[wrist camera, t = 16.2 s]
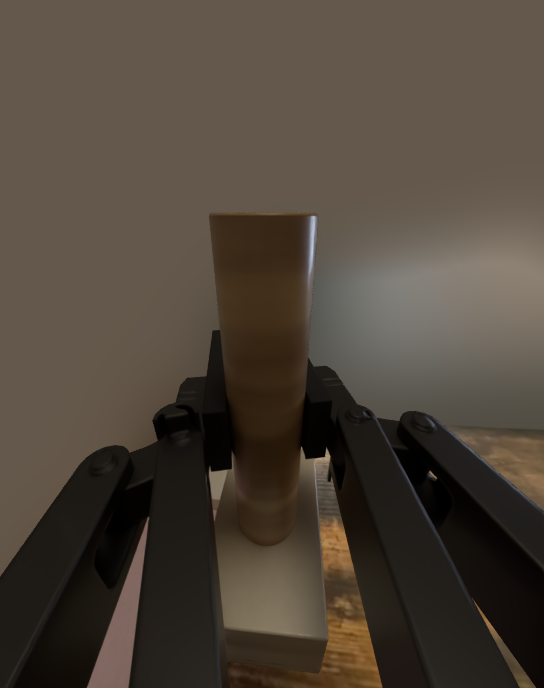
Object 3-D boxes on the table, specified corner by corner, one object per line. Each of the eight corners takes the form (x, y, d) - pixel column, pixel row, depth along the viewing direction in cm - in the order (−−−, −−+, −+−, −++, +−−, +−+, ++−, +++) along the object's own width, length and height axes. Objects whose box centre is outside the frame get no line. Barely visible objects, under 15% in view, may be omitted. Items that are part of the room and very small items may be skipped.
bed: (184, 893, 12) (165, 902, 10) (-11, 857, 13) (-65, 858, 11) (249, 489, 30) (247, 462, 28) (166, 483, 31) (158, 457, 29)
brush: (319, 674, 10) (445, 211, 3) (198, 658, 11) (33, 210, 3) (310, 487, 17) (339, 213, 10) (237, 481, 18) (213, 213, 10)
